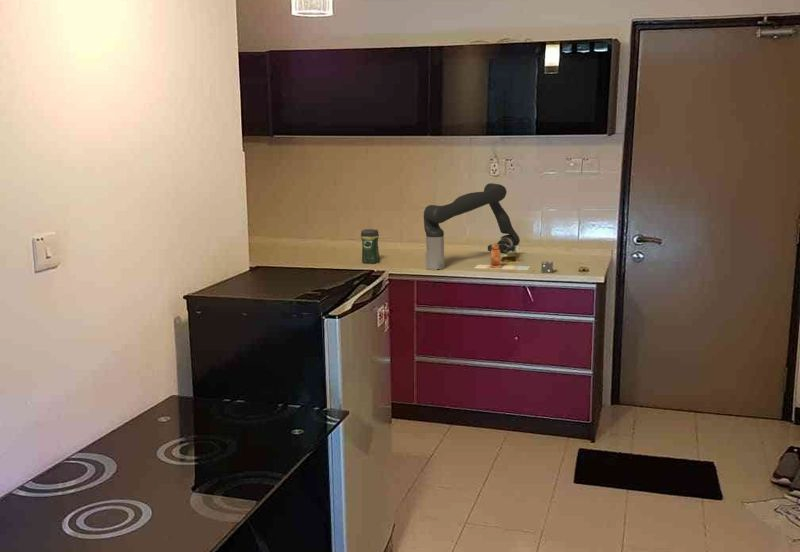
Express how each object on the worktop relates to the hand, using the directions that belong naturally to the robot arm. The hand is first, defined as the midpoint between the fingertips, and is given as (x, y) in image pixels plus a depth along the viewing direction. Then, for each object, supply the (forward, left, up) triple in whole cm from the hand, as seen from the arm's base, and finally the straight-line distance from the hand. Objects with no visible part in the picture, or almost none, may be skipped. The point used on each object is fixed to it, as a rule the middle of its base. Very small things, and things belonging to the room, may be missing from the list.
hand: (499, 250), depth 402 cm
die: (+27, -11, -9) cm, 30 cm away
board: (+4, -10, -9) cm, 14 cm away
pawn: (0, -10, -7) cm, 12 cm away
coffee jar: (-71, -2, -9) cm, 72 cm away
